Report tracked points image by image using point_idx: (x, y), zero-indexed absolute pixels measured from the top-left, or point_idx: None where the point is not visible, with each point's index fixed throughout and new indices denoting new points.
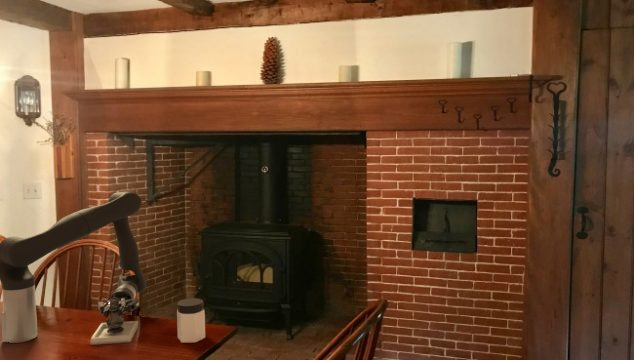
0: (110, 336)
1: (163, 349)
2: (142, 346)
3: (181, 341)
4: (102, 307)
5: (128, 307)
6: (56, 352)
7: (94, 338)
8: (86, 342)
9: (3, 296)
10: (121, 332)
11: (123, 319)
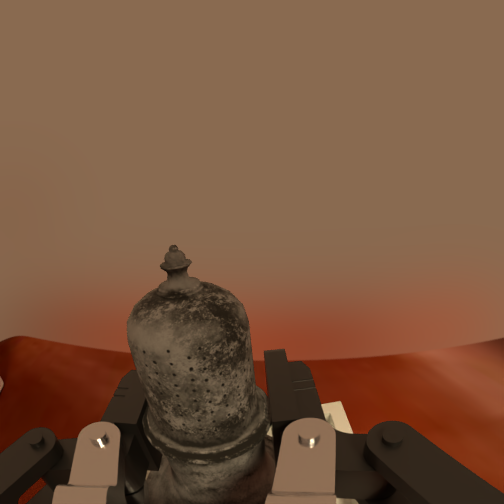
0: None
1: (61, 365)
2: (109, 393)
3: (2, 381)
4: (375, 432)
5: (63, 444)
6: (428, 360)
7: (321, 405)
8: None
9: None
10: None
11: (151, 471)
